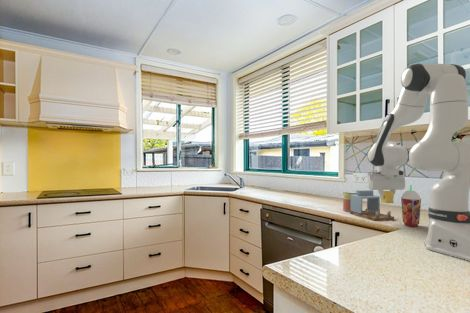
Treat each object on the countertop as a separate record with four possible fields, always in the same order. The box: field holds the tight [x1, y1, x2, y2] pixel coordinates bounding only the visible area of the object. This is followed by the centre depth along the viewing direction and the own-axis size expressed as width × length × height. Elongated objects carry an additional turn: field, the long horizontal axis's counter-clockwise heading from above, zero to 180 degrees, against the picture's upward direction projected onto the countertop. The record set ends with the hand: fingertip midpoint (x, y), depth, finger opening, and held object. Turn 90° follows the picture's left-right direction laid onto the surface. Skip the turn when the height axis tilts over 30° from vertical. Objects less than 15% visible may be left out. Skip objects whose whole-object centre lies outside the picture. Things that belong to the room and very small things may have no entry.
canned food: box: [342, 190, 356, 213], centre depth 169 cm, size 11×11×12 cm
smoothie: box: [400, 184, 422, 228], centre depth 132 cm, size 8×8×20 cm
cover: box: [351, 189, 381, 214], centre depth 157 cm, size 9×13×12 cm
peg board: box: [349, 208, 395, 222], centre depth 152 cm, size 19×13×4 cm
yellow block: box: [380, 190, 394, 204], centre depth 139 cm, size 4×4×6 cm
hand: (386, 198), depth 138 cm, fingers closed on yellow block, 4 cm apart
